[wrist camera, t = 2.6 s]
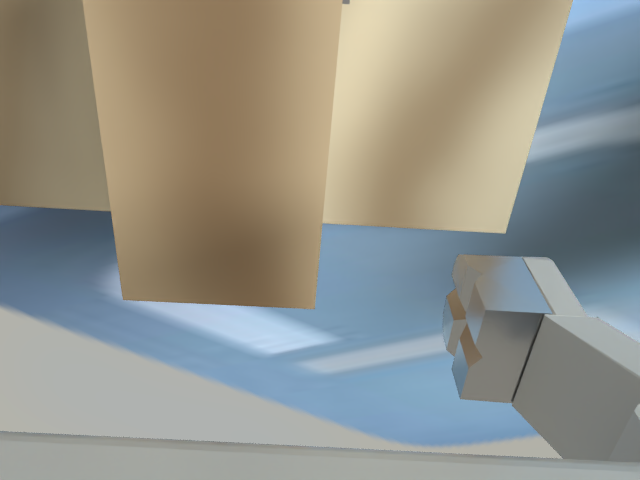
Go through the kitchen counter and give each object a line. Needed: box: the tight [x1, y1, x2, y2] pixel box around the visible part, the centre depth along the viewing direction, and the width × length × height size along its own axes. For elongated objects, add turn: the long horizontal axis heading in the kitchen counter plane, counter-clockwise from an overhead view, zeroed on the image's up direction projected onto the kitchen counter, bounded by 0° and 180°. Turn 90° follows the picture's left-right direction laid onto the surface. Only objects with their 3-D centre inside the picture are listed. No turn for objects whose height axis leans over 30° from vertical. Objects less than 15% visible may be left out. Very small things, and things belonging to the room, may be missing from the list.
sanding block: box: [82, 0, 343, 309], centre depth 15 cm, size 5×8×4 cm, turn 176°
